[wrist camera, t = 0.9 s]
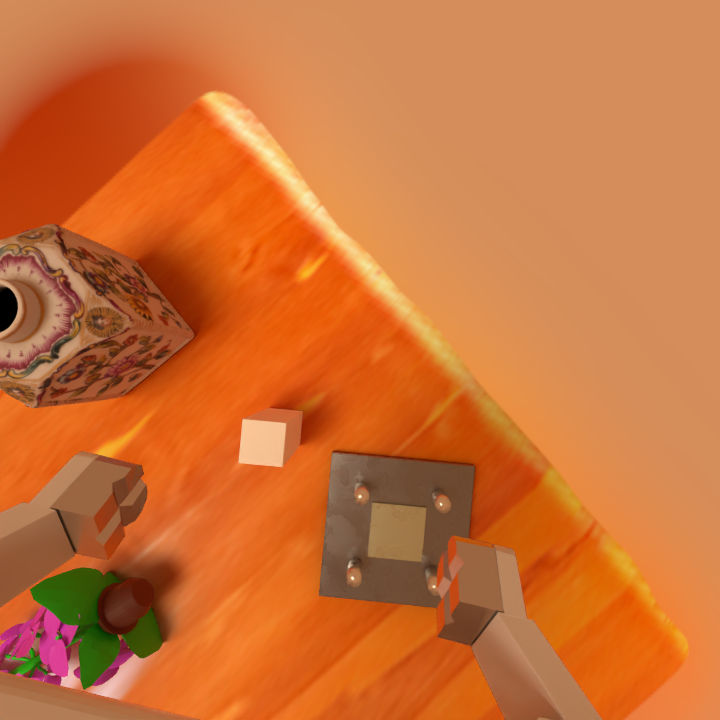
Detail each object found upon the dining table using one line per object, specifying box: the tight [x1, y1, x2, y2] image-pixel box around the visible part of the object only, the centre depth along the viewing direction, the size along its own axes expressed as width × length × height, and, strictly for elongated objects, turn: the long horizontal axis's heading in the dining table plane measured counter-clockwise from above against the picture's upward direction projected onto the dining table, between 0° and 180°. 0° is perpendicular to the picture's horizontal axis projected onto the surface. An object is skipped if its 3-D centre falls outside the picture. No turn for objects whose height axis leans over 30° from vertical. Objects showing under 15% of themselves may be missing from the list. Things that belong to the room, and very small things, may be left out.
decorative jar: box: [0, 224, 195, 408], centre depth 40 cm, size 12×12×18 cm
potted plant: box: [0, 568, 163, 690], centre depth 44 cm, size 12×16×35 cm
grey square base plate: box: [319, 451, 475, 608], centre depth 46 cm, size 16×16×4 cm
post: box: [239, 408, 303, 467], centre depth 43 cm, size 4×4×10 cm
